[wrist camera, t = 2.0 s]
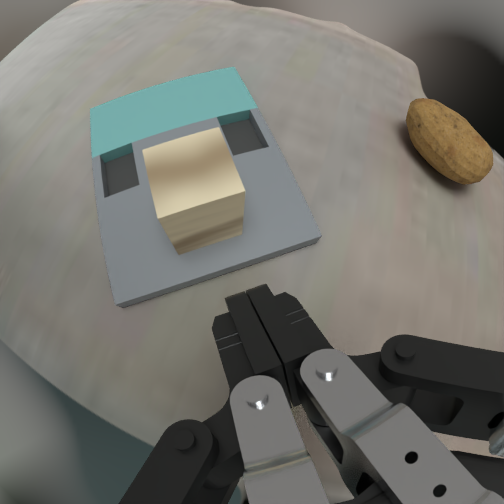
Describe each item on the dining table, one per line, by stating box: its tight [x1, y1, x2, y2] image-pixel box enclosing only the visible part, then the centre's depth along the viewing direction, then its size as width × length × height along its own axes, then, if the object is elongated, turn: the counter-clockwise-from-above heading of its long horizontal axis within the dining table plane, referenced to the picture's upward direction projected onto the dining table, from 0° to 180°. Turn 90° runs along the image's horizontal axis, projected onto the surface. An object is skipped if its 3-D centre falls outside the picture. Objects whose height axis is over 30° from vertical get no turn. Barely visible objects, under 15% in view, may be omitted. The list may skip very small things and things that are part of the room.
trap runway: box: [90, 67, 322, 308], centre depth 30 cm, size 26×20×2 cm
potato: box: [406, 98, 493, 185], centre depth 31 cm, size 10×14×8 cm
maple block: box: [142, 127, 246, 255], centre depth 24 cm, size 6×6×8 cm
